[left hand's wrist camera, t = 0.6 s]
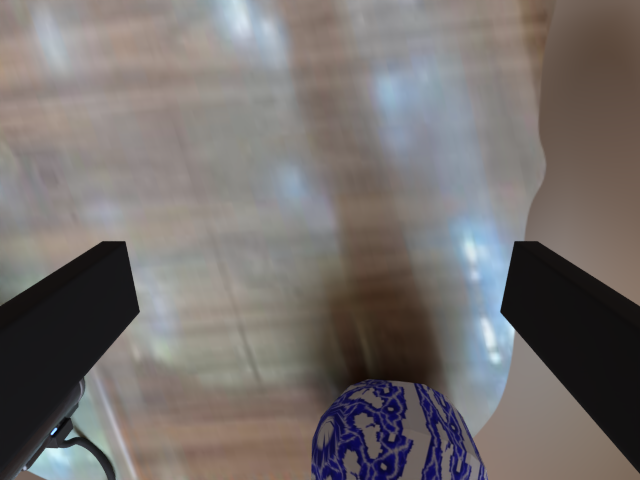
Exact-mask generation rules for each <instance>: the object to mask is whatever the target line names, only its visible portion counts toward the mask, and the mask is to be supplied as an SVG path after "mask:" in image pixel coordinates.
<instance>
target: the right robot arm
mask: <svg viewBox="0 0 640 480" xmlns="http://www.w3.org/2000/svg"><path fill="white" fill-rule="evenodd" d="M84 391H85V382H84V379H83V378H82V380H81V381H80V382H79V383H78V384H77V385H76V386H75V388H74V389H73V390H72V391H71V392H70V393H69V395H68V396H67V397H66V398H65V399H64V400H63V402H62V403H61V404H60V405H59V406H58V407H57V408H56V410H55V411H54V412H53V413H52V414H51V415H50V417H49V418H48V419H47V420H46V421H45V422H44V424H43V425H42V426H41V427H40V428H39V429H38V430H37V432H36V433H35V434H34V435H33V436H32V437H31V439H30V440H29V441H28V442H27V443H26V444H25V446H24V447H23V448H22V449H21V450H20V451H19V452H18V454H17V455H16V456H15V457H14V458H13V459H12V461H11V462H10V463H9V464H8V465H7V466H6V468H5V469H4V470H3V471H2V472H1V473H0V480H14V479H15V478H16V476H17V475H18V474H19V473H20V471H26V470H28V469H29V468H30V467H31V466H32V464H33V463H34V462H35V461H36V459H37V458H38V457H39V456H40V454H41V453H42V452H43V451H44V449H45V448H58V447H59V448H68V447H71V446H73V445H75V444H77V445H80V446H82V447H84V448H86V449H88V450H89V451H90V452H91V453H92V454H93V455H94V456H95V457H96V458H97V460H98V461H99V462H100V464H101V466H102V467H103V469H104V471H105V473H106V475H107V478H108V480H115V475H114V472H113V469H112V467H111V465H110V463H109V462H108V460H107V458H106V457H105V455H104V454H103V453H102V452H101V451H100V450H99V449H98V448H97V447H96V446H95V445H94V444H92V443H91V442H90V441H88V440H87V439H84V438H82V437H75V438H72V439H70V440H65V438H66V437H67V436H68V434H69V433H70V432H71V430H72V429H73V425H72V421H71V418H70V417H71V415H72V414H73V413H74V412H75V410H76V409H77V408H78V402H79V400H80V399H81V398H82V396H83V394H84Z"/></svg>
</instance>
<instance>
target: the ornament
mask: <svg viewBox="0 0 640 480" xmlns="http://www.w3.org/2000/svg"><path fill="white" fill-rule="evenodd" d="M311 480H488V477H487V470H486V467H485V465H484V463H483V461H482V459H481V457H480V454H479V452H478V450H477V448H476V445H475V443H474V441H473V439H472V437H471V434H470V432H469V430H468V428H467V426H466V423H465V421H464V419H463V417H462V416H461V414H460V413H459V412H458V411H457V409H456V408H455V407H454V406H453V404H452V403H451V402H450V400H449V399H448V398H447V397H446V396H444V395H442V394H441V393H439V392H437V391H435V390H433V389H432V388H430V387H428V386H426V385H424V384H417V383H409V382H400V381H388V380H374V379H367V380H364V381H362V382H359V383H356V384H353V385H351V386H349V387H348V388H347V389H346V390H345V391H344V392H343V393H342V394H341V395H340V396H339V397H338V399H337V400H336V401H335V402H334V403H333V404H332V405H331V406H330V407H329V409H328V410H327V411H326V412H325V413H324V414H323V416H322V417H321V418H320V421H319V424H318V426H317V429H316V432H315V434H314V437H313V440H312V469H311Z"/></svg>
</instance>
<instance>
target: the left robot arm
mask: <svg viewBox="0 0 640 480" xmlns="http://www.w3.org/2000/svg"><path fill="white" fill-rule="evenodd" d="M139 312H140V310H139V305H138V301H137V296H136V291H135V286H134V281H133V276H132V271H131V266H130V261H129V257H128V252H127V247H126V242H125V241H102V242H101V243H99V244H98V245H96V246H94V247H93V248H91V249H90V250H88V251H87V252H85V253H83V254H82V255H80V256H79V257H77V258H76V259H74V260H72V261H71V262H69V263H68V264H66V265H65V266H63V267H61V268H60V269H58V270H57V271H55V272H53V273H52V274H50V275H49V276H47V277H46V278H44V279H42V280H41V281H39V282H38V283H36V284H35V285H33V286H31V287H30V288H28V289H27V290H25V291H24V292H22V293H20V294H19V295H17V296H16V297H14V298H13V299H11V300H9V301H8V302H6V303H5V304H3V305H1V306H0V473H1V472H2V471H3V470H4V469H5V468H6V466H7V465H8V464H9V463H10V462H11V461H12V459H13V458H14V457H15V456H16V455H17V454H18V452H19V451H20V450H21V449H22V448H23V447H24V446H25V444H26V443H27V442H28V441H29V440H30V439H31V437H32V436H33V435H34V434H35V433H36V432H37V430H38V429H39V428H40V427H41V426H42V425H43V424H44V422H45V421H46V420H47V419H48V418H49V417H50V415H51V414H52V413H53V412H54V411H55V410H56V408H57V407H58V406H59V405H60V404H61V403H62V402H63V400H64V399H65V398H66V397H67V396H68V395H69V393H70V392H71V391H72V390H73V389H74V388H75V386H76V385H77V384H78V383H79V382H80V381H81V380H82V378H83V377H84V376H85V375H86V374H87V373H88V371H89V370H90V369H91V368H92V367H93V366H94V364H95V363H96V362H97V361H98V360H99V359H100V358H101V356H102V355H103V354H104V353H105V352H106V351H107V349H108V348H109V347H110V346H111V345H112V344H113V342H114V341H115V340H116V339H117V338H118V337H119V336H120V334H121V333H122V332H123V331H124V330H125V329H126V327H127V326H128V325H129V324H130V323H131V322H132V320H133V319H134V318H135V317H136V316H137V315H138V314H139ZM500 312H501V314H502V315H503V316H504V317H505V318H506V319H507V320H508V322H509V323H510V324H511V325H512V326H513V327H514V329H515V330H516V331H517V332H518V333H519V334H520V335H521V337H522V338H523V339H524V340H525V341H526V342H527V344H528V345H529V346H530V347H531V348H532V349H533V351H534V352H535V353H536V354H537V355H538V356H539V358H540V359H541V360H542V361H543V362H544V363H545V364H546V366H547V367H548V368H549V369H550V370H551V371H552V373H553V374H554V375H555V376H556V377H557V378H558V380H559V381H560V382H561V383H562V384H563V385H564V386H565V388H566V389H567V390H568V391H569V392H570V393H571V395H572V396H573V397H574V398H575V399H576V400H577V402H578V403H579V404H580V405H581V406H582V407H583V408H584V410H585V411H586V412H587V413H588V414H589V415H590V417H591V418H592V419H593V420H594V421H595V422H596V424H597V425H598V426H599V427H600V428H601V429H602V430H603V432H604V433H605V434H606V435H607V436H608V437H609V439H610V440H611V441H612V442H613V443H614V444H615V445H616V447H617V448H618V449H619V450H620V451H621V452H622V454H623V455H624V456H625V457H626V458H627V459H628V461H629V462H630V463H631V464H632V465H633V466H634V468H635V469H636V470H637V471H638V472H639V473H640V306H638V305H637V304H635V303H634V302H632V301H631V300H629V299H627V298H626V297H624V296H623V295H621V294H620V293H618V292H616V291H615V290H613V289H612V288H610V287H609V286H607V285H605V284H604V283H602V282H601V281H599V280H598V279H596V278H594V277H593V276H591V275H590V274H588V273H586V272H585V271H583V270H582V269H580V268H579V267H577V266H575V265H574V264H572V263H571V262H569V261H568V260H566V259H564V258H563V257H561V256H560V255H558V254H557V253H555V252H553V251H552V250H550V249H549V248H547V247H546V246H544V245H542V244H541V243H539V242H538V241H515V242H514V247H513V252H512V257H511V261H510V266H509V271H508V276H507V281H506V286H505V291H504V296H503V301H502V305H501V310H500Z"/></svg>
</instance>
